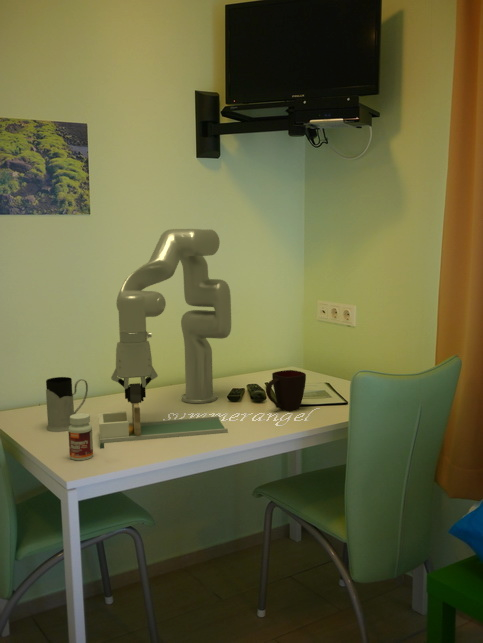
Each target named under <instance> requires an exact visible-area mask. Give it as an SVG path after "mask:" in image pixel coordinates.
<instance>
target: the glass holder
mask: <svg viewBox="0 0 483 643" xmlns="http://www.w3.org/2000/svg"><path fill="white" fill-rule="evenodd" d="M72 380H73V379H72V378H71V377H68V376H67V377H66V376H57V377H51V378H48V379H46V380H45V385H46V386H45V387H46V388H45V395H46V398H45V400H46V413H47V427H46V430H47V431H48V432H52V433H53V432H54V433H62V432H63V433H64V432H68V428H69V426H70V425H72V424H70V416H71V415H73V414H77V412H78V411H79V410H80V409H81V408H82V406H83V405H84V403H85V402H86V399H87V398H88V397H87V396H88V391H89V390H88V389H89V385H88V382H87V380H85V379H83V378H81V379H78V380H77V381H76V382H75V383H74V392H73V381H72ZM81 381H82V382H84V383H85V394H84V396H83V400H82V402H81V403H80V405H79V406H78V407H77V408H76V409H75V410H74V395H76V394H77V387H78V384H79V383H80V382H81Z"/></svg>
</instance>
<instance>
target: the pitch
mask: <svg viewBox="0 0 483 643" xmlns="http://www.w3.org/2000/svg"><path fill="white" fill-rule="evenodd" d="M127 415H128V414H127V411H126V410H125V411H109V412H100V413H99V412H98V427H99V445H100V449H105V444H109V443H110V444H112V443H122V442H133V441H134V442H136V441H145V440H157V439H171V438H179V437H193V436H204V435H205V436H206V435H216V434H217V435H218V434H227V433H228V434H229V432H228V431H229V430H228V428H225V427H224V425H223V424H222V422H221V420H220V415H213V416H202V417H201V416H200V417H188V418H176V419H175V418H174V419H164V420H163V419H162V420H161V419H160V420H151V421H150V420H149V421H140V425H141V435H139V436H136V434H133V435H130V436H129V424H130V425H133V422H129V420H128V419H127Z"/></svg>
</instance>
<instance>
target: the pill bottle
mask: <svg viewBox="0 0 483 643" xmlns="http://www.w3.org/2000/svg"><path fill="white" fill-rule="evenodd" d="M90 422H91V416H90V413H84V412H82V413H81V412H78V413H76V414H73V415H71V416H70V424H72V425H70V426H69V428H68V431H67V432H68V447H69V448H68V450H69V452H68V453H69V458H70V459H71V460H74V461H84V460H89V459H91V458H92V457H93V456H94V443H93V442H94V441H93V426H92V424H91V423H90Z"/></svg>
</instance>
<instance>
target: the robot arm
mask: <svg viewBox="0 0 483 643" xmlns="http://www.w3.org/2000/svg"><path fill="white" fill-rule="evenodd" d="M220 243H221V242H220V237H219V235H218V233H217V232H216V230H213V229H201V228H172V229H166V230H165V231H163V233H162V234H161V235H160V237H159V239H158V241H157V243H156V246H155V247H154V250H153V252H152V254H151V256H150V258H149V260H148V262H146V263H145V264H143V265H142V266H140V267H139V268H137V269H136V270H134V271H133V272H131V274H129V275H128V276H127V277H126V279H124V282H123V283H122V286H121V288H120V290H119V292H118V295H117V299H116V308H117V311H118V330H119V331H118V332H119V341H117V342H116V343H117V344H116V349H115V369H114V370H113V373H112V374H111V376H110V378H111V380H112V381H114V382H116V383H118V384H119V385H120V386H122V387H123V388H124V398H125V400H127V403H130V402H131V400H130V387H129V384H130V382H129V380H130V378H131V379H132V378H133V379H134V378H140V385H141V402H144V398H146V387H147V386H148V385H149V384H150V382H152V381H153V380H154V379H157V378H158V376H159V375H158V373H157V371H156V370H155V368H154V366H153V360H152V359H153V357H152V351H151V345H150V341H149V340H148V339H150V338H152V336H153V335H152V332H148V331H147V319H146V318H155V317H158V316H160V315H161V314H163V313H164V311H165V309H166V306H167V305H166V299H165V296H164V295H163V294H162V293H160V292H159V291H153V290H145V289H146V288H148V287H150V286H153V285H156V284H159V283H162V282H164V281H167V280H169V279H170V278H172V277H173V276H174V275H175V272H176V270H177V268H178V265H179V263H180V264H181V265H182V272H183V273H182V274H183V275H182V276H183V293H184V295H183V296H184V300H185V304H187V305H188V306H190V307H197V308H198V307H199V308H200V307H201V308H213V310H206V309H205V310H204V309H193V310H192V309H191V310H188V311H186V312H184V314H182V316H181V320H180V327H181V332H182V336H183V346H184V371H185V375H184V376H185V394H182V395H181V401H183V402H184V403H189V404H207V403H212V402H215V401H216V400H218V395H217V393H215V392H214V391H213V390H214V387H213V349H212V346H211V344H210V343H209V341H208V339H218V340H219V339H221V340H222V339H226V338H228V337H229V335H230V334H231V331H232V297H231V289H230V286H229V284H228V282H227V281H225V280H223V279H217V278H213V279H211V278H210V277H209V266H208V262H207V260H206V258H205V257H207V256H213V255H216V254H217V252H218V250H219V248H220Z"/></svg>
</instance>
